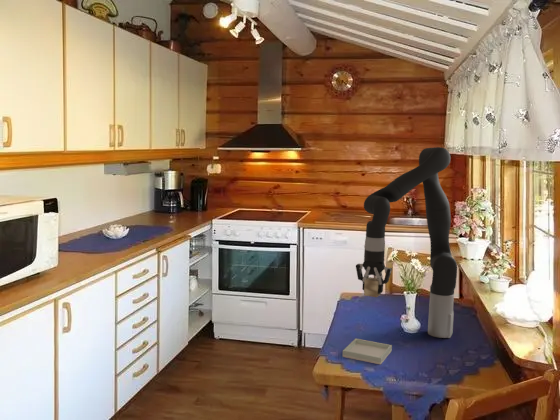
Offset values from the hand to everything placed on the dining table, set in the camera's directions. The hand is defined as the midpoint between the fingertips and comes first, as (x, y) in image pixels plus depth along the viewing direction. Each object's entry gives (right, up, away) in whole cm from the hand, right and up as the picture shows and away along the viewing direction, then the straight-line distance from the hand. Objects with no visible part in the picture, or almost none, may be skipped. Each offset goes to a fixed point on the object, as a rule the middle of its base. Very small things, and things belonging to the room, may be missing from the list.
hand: (372, 292), depth 210 cm
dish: (-3, -21, -10) cm, 23 cm away
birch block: (0, -1, 0) cm, 1 cm away
